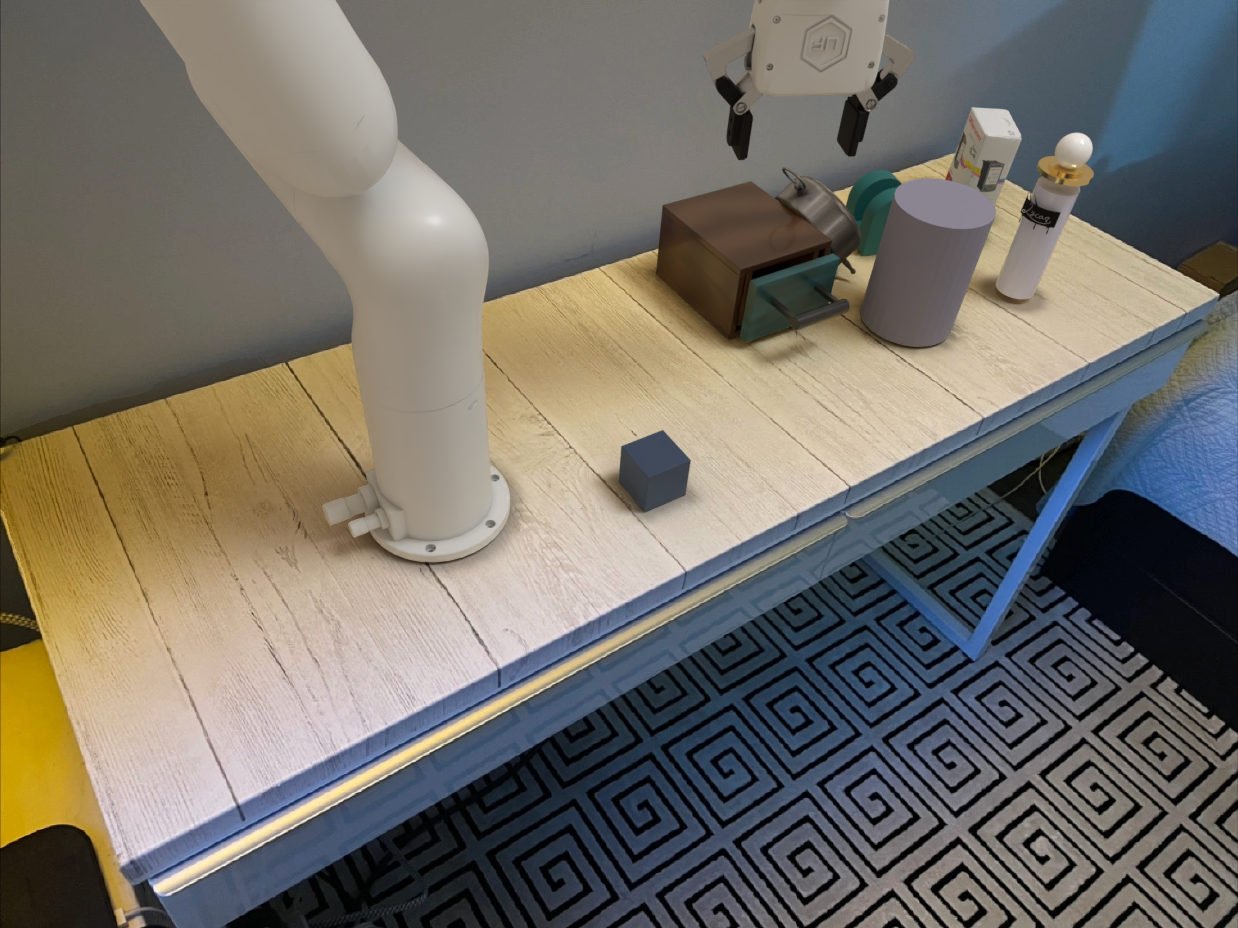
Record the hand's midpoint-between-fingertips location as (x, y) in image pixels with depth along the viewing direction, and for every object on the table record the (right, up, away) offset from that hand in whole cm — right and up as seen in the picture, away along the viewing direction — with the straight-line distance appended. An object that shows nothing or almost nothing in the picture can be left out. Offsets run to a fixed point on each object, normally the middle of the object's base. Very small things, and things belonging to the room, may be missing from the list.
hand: (792, 151), depth 79 cm
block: (-12, -29, +5) cm, 32 cm away
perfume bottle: (+32, -7, +31) cm, 45 cm away
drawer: (+1, -9, +25) cm, 26 cm away
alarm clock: (+12, -1, +33) cm, 35 cm away
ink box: (+33, +8, +46) cm, 57 cm away
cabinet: (-1, -7, +28) cm, 29 cm away
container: (+18, -11, +26) cm, 33 cm away
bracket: (+23, +2, +40) cm, 46 cm away
